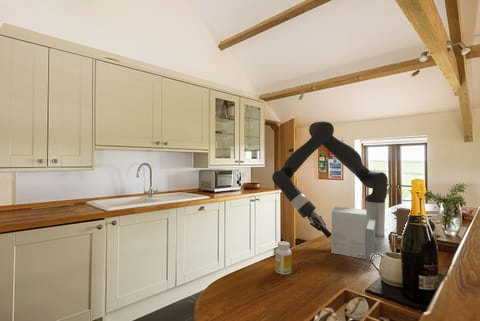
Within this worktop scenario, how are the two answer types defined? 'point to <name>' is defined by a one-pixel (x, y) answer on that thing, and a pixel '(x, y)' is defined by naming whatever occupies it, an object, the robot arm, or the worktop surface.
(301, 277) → the worktop surface
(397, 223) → the wooden block
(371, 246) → the grey board
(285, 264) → the supplement bottle
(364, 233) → the supplement box
